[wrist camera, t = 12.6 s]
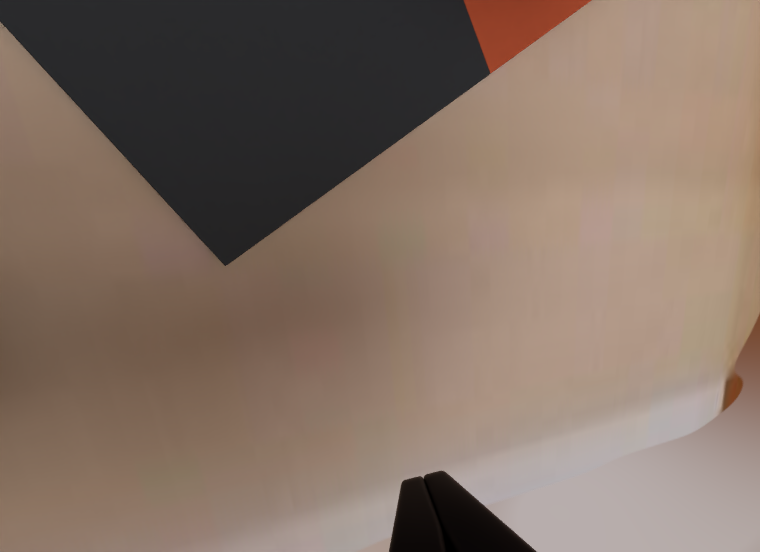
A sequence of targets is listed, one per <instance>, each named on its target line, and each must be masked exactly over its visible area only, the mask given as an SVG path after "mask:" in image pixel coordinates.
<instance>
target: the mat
mask: <svg viewBox="0 0 760 552" xmlns="http://www.w3.org/2000/svg"><path fill="white" fill-rule="evenodd" d="M0 21H1V23H2V24H3V25H4V26H5V27H6V28H7V29H8V30H9V31H10V32H11V33H12V34H13V36H14V37H15V38H16V39H17V40H18V41H19V42H20V43H21V44H22V45H23V46H24V48H25V49H26V50H27V51H28V52H29V53H30V54H31V55H32V56H33V57H34V58H35V59H36V61H37V62H38V63H39V64H40V65H41V66H42V67H43V68H44V69H45V70H46V71H47V73H48V74H49V75H50V76H51V77H52V78H53V79H54V80H55V81H56V82H57V83H58V85H59V86H60V87H61V88H62V89H63V90H64V91H65V92H66V93H67V94H68V95H69V96H70V98H71V99H72V100H73V101H74V102H75V103H76V104H77V105H78V106H79V107H80V108H81V110H82V111H83V112H84V113H85V114H86V115H87V116H88V117H89V118H90V119H91V120H92V121H93V123H94V124H95V125H96V126H97V127H98V128H99V129H100V130H101V131H102V132H103V133H104V135H105V136H106V137H107V138H108V139H109V140H110V141H111V142H112V143H113V144H114V145H115V147H116V148H117V149H118V150H119V151H120V152H121V153H122V154H123V155H124V156H125V157H126V158H127V160H128V161H129V162H130V163H131V164H132V165H133V166H134V167H135V168H136V169H137V170H138V172H139V173H140V174H141V175H142V176H143V177H144V178H145V179H146V180H147V181H148V182H149V183H150V185H151V186H152V187H153V188H154V189H155V190H156V191H157V192H158V193H159V194H160V195H161V197H162V198H163V199H164V200H165V201H166V202H167V203H168V204H169V205H170V206H171V207H172V209H173V210H174V211H175V212H176V213H177V214H178V215H179V216H180V217H181V218H182V219H183V220H184V222H185V223H186V224H187V225H188V226H189V227H190V228H191V229H192V230H193V231H194V232H195V234H196V235H197V236H198V237H199V238H200V239H201V240H202V241H203V242H204V243H205V244H206V245H207V247H208V248H209V249H210V250H211V251H212V252H213V253H214V254H215V255H216V256H217V257H218V259H219V260H220V261H221V262H222V263H223V264H224V265H225V266H226V265H228V264H229V263H231V262H232V261H233V260H235V259H236V258H237V257H239V256H240V255H242V254H243V253H244V252H246V251H247V250H248V249H250V248H251V247H253V246H254V245H255V244H257V243H258V242H259V241H261V240H262V239H264V238H265V237H266V236H268V235H269V234H270V233H272V232H273V231H275V230H276V229H277V228H279V227H280V226H281V225H283V224H284V223H286V222H287V221H288V220H290V219H291V218H292V217H294V216H295V215H297V214H298V213H299V212H301V211H302V210H303V209H305V208H306V207H308V206H309V205H310V204H312V203H313V202H315V201H316V200H317V199H319V198H320V197H321V196H323V195H324V194H326V193H327V192H328V191H330V190H331V189H332V188H334V187H335V186H337V185H338V184H339V183H341V182H342V181H343V180H345V179H346V178H348V177H349V176H350V175H352V174H353V173H354V172H356V171H357V170H359V169H360V168H361V167H363V166H364V165H365V164H367V163H368V162H370V161H371V160H372V159H374V158H375V157H376V156H378V155H379V154H381V153H382V152H383V151H385V150H386V149H387V148H389V147H390V146H392V145H393V144H394V143H396V142H397V141H398V140H400V139H401V138H403V137H404V136H405V135H407V134H408V133H409V132H411V131H412V130H414V129H415V128H416V127H418V126H419V125H420V124H422V123H423V122H425V121H426V120H427V119H429V118H430V117H431V116H433V115H434V114H436V113H437V112H438V111H440V110H441V109H442V108H444V107H445V106H447V105H448V104H449V103H451V102H452V101H454V100H455V99H456V98H458V97H459V96H460V95H462V94H463V93H465V92H466V91H467V90H469V89H470V88H471V87H473V86H474V85H476V84H477V83H478V82H480V81H481V80H482V79H484V78H485V77H487V76H488V75H489V74H490V71H489V68H488V66H487V63H486V60H485V57H484V55H483V52H482V49H481V47H480V44H479V41H478V38H477V36H476V33H475V30H474V28H473V25H472V22H471V19H470V17H469V14H468V11H467V8H466V6H465V3H464V0H0Z"/></svg>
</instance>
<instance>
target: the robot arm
mask: <svg viewBox="0 0 760 552" xmlns="http://www.w3.org/2000/svg"><path fill="white" fill-rule="evenodd" d="M389 552H536V551H535V550H534V549H533V548H532V547H531V546H530V545H528V544H527V543H526V542H525V541H524V540H523V539H521V538H520V537H519V536H518V535H517V534H516V533H515V532H514V531H512V530H511V529H510V528H509V527H508V526H507V525H505V524H504V523H503V522H502V521H501V520H500V519H499V518H498V517H496V516H495V515H494V514H493V513H492V512H491V511H489V510H488V509H487V508H486V507H485V506H484V505H483V504H482V503H480V502H479V501H478V500H477V499H476V498H475V497H474V496H472V495H471V494H470V493H469V492H468V491H467V490H466V489H464V488H463V487H462V486H461V485H460V484H459V483H457V482H456V481H455V480H454V479H453V478H452V477H451V476H449V475H448V474H447V473H446V472H444V471H438V472H434V473H430V474H427V475H425V476H424V479H423V478H422V477H421V476H419V477H415V478H411V479H407V480H404V481H403V482H402V484H401V489H400V494H399V500H398V505H397V511H396V516H395V522H394V527H393V533H392V538H391V543H390V549H389Z"/></svg>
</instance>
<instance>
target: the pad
mask: <svg viewBox="0 0 760 552" xmlns="http://www.w3.org/2000/svg"><path fill="white" fill-rule="evenodd" d="M590 1H591V0H464V3H465V6H466V8H467V11H468V14H469V17H470V19H471V22H472V25H473V28H474V30H475V33H476V36H477V38H478V41H479V44H480V47H481V49H482V52H483V55H484V57H485V60H486V63H487V66H488V68H489V71H490V73H492V72H493V71H495V70H496V69H497V68H499V67H500V66H502V65H503V64H504V63H506V62H507V61H508V60H510V59H511V58H513V57H514V56H515V55H517V54H518V53H519V52H521V51H522V50H524V49H525V48H526V47H528V46H529V45H531V44H532V43H533V42H535V41H536V40H537V39H539V38H540V37H542V36H543V35H544V34H546V33H547V32H548V31H550V30H551V29H553V28H554V27H555V26H557V25H558V24H559V23H561V22H562V21H564V20H565V19H566V18H568V17H569V16H570V15H572V14H573V13H575V12H576V11H577V10H579V9H580V8H581V7H583V6H584V5H586V4H587V3H588V2H590Z"/></svg>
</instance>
